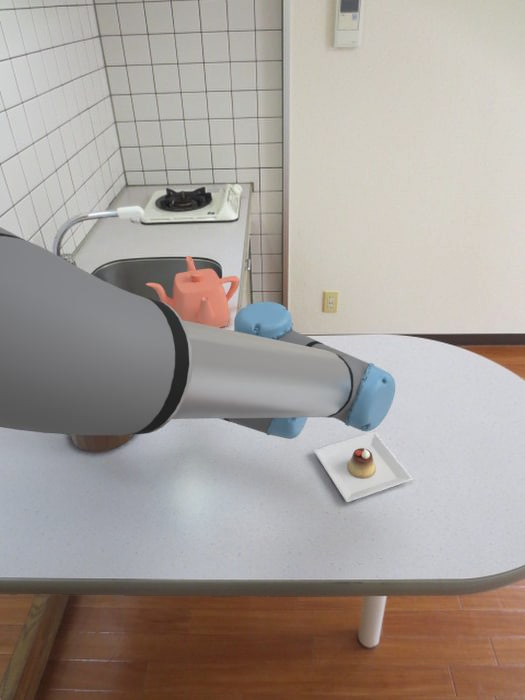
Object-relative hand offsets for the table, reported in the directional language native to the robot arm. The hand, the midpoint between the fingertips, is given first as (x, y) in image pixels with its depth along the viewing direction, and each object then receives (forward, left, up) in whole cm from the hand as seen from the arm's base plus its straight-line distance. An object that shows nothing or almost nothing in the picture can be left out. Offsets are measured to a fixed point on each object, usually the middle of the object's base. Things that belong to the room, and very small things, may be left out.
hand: (98, 358), depth 87 cm
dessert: (+21, -39, -17) cm, 48 cm away
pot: (+37, +19, -17) cm, 45 cm away
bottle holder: (-1, +3, -17) cm, 17 cm away
